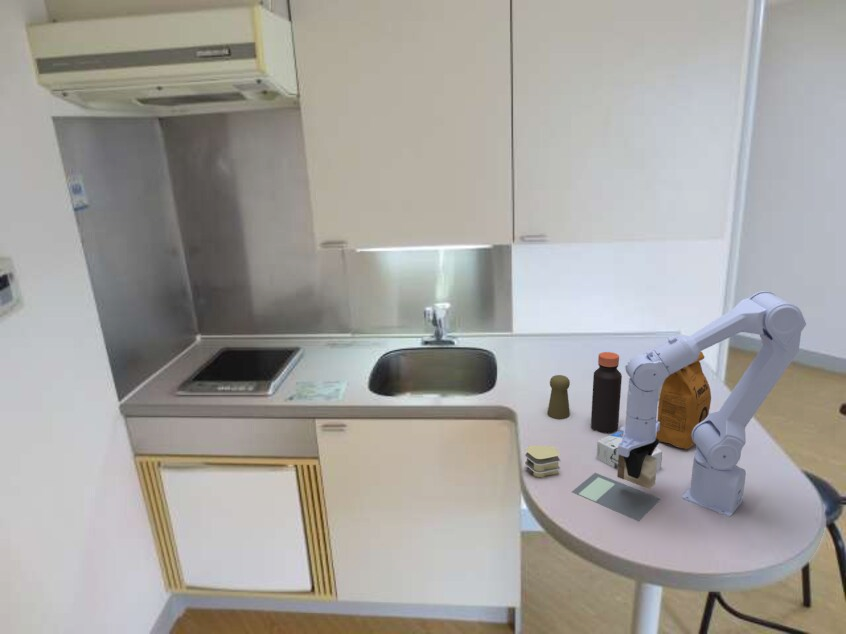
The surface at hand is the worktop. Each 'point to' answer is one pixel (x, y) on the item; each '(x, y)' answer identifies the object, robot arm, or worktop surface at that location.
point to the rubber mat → (616, 496)
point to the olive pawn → (559, 397)
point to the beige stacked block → (542, 460)
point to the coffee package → (683, 404)
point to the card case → (646, 474)
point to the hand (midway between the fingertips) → (636, 473)
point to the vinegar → (606, 394)
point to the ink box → (609, 450)
